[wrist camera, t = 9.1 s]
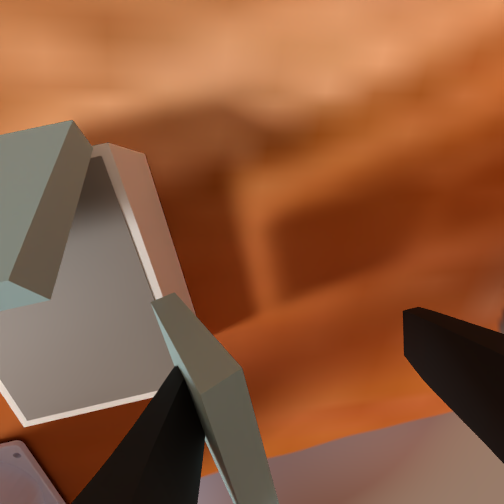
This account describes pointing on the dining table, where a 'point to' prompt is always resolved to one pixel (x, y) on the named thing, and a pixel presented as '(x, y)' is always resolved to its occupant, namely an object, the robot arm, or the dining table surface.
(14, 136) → the side flap
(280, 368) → the dining table surface
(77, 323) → the carton
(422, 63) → the dining table surface
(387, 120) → the dining table surface
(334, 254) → the dining table surface
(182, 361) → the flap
